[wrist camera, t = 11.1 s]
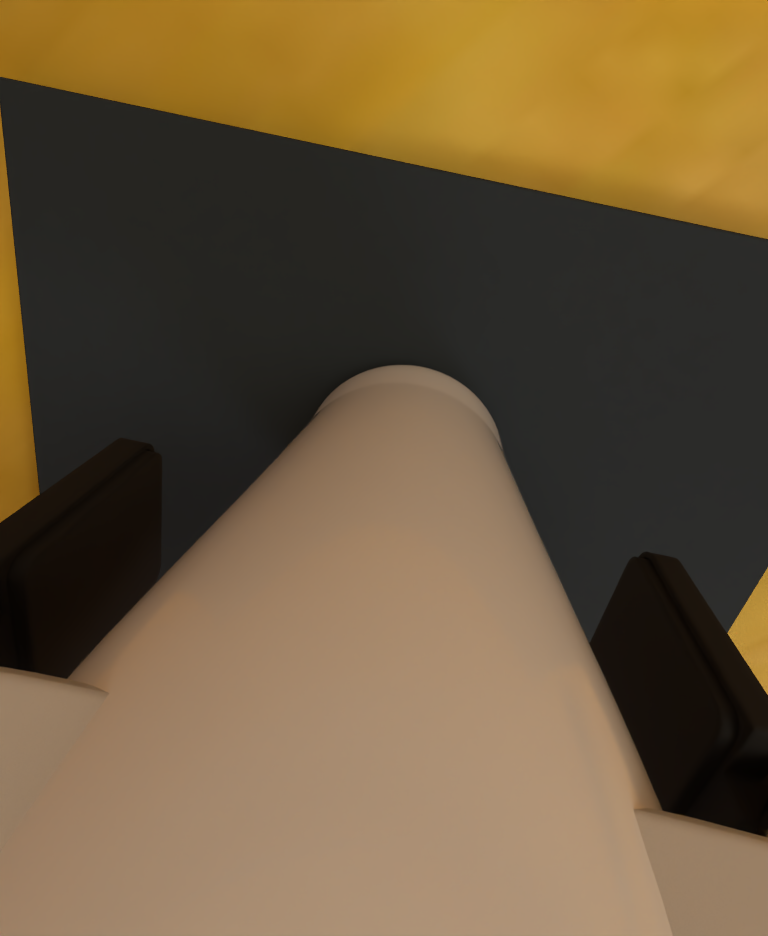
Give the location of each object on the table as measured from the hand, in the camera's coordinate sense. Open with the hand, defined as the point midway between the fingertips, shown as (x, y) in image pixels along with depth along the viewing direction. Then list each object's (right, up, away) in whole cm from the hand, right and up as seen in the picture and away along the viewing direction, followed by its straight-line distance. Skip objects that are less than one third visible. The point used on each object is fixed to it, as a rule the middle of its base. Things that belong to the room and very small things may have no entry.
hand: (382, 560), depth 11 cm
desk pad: (+1, +3, +5) cm, 6 cm away
